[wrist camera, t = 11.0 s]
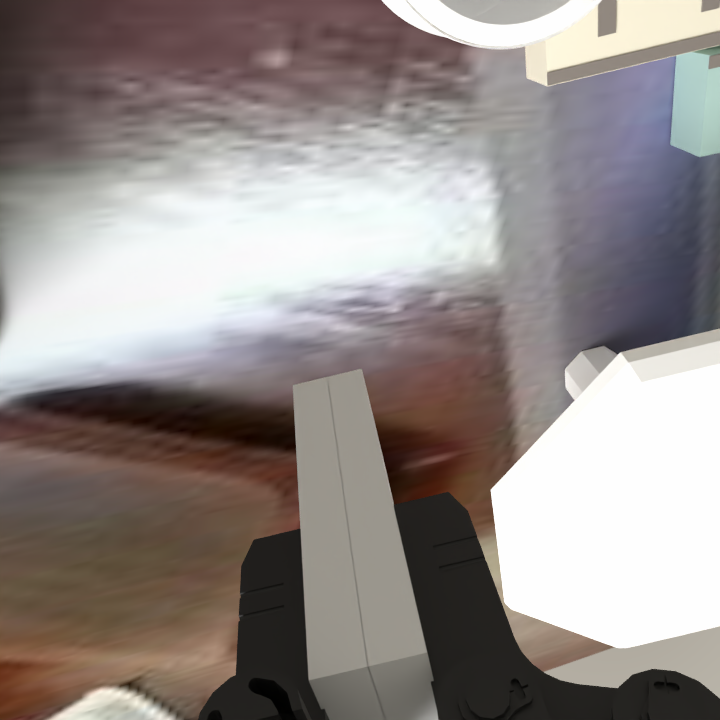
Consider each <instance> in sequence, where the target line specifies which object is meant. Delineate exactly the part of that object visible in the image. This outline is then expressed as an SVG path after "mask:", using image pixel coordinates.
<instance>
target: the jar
mask: <svg viewBox="0 0 720 720" xmlns="http://www.w3.org/2000/svg"><path fill="white" fill-rule="evenodd" d="M382 1H383V2H384V3H385V4H386V5H387V6H388V7H389V8H390V9H391V10H392V11H393V12H394V13H395V14H397V15H398V16H399V17H400V18H402V19H403V20H405V21H406V22H408V23H410V24H411V25H413V26H415V27H417V28H419V29H421V30H424V31H426V32H429V33H432V34H435V35H438V36H443V37H447V38H449V39H452V40H454V41H457V42H460V43H463V44H467V45H470V46H475V47H479V48H486V49H513V48H520V47H525V46H529V45H533V44H536V43H539V42H542V41H545V40H547V39H549V38H552V37H554V36H556V35H558V34H560V33H561V32H563V31H565V30H567V29H568V28H570V27H571V26H573V25H574V24H576V23H577V22H578V21H580V20H581V19H582V18H584V17H585V16H586V15H587V14H588V13H590V12H591V11H592V10H593V9H594V8H595V7H596V6H597V5H598V4H599V3H600V2H601V1H602V0H382Z"/></svg>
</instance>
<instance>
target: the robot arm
mask: <svg viewBox="0 0 720 720" xmlns="http://www.w3.org/2000/svg"><path fill="white" fill-rule="evenodd" d="M293 397H294V415H295V434H296V453H297V472H298V490H299V509H300V528H301V529H297V530H293V531H289V532H285V533H280V534H276V535H272V536H268V537H264V538H259V539H255V540H254V541H253V543H252V545H251V547H250V549H249V551H248V553H247V555H246V557H245V560H244V562H243V564H242V566H241V584H240V594H241V598H240V604H239V618H240V621H239V624H238V644H237V664H236V676H233V677H231V678H229V679H228V680H227V681H226V682H225V683H224V684H222V685H221V686H220V687H219V688H218V689H217V690H215V691H214V692H213V693H212V695H211V696H210V698H209V699H208V701H207V703H206V704H205V706H204V707H203V709H202V710H201V712H200V715H199V719H198V720H720V699H719V698H718V697H717V696H716V695H715V694H714V693H712V692H711V691H710V690H709V689H707V688H706V687H705V686H704V685H703V684H701V683H700V682H699V681H697V680H695V679H692V678H690V677H688V676H685V675H683V674H681V673H678V672H676V671H667V670H657V669H651V670H648V671H644V672H640V673H637V674H634V675H632V676H631V677H630V678H629V679H627V680H626V681H625V682H624V683H623V684H622V685H621V686H619V688H608V687H599V686H589V685H580V684H574V683H569V682H565V681H560V680H558V679H556V678H554V677H552V676H550V675H547V674H545V673H544V672H542V671H541V670H540V669H538V668H537V667H536V666H534V665H533V664H532V663H531V662H530V661H529V660H528V659H527V658H526V656H525V655H524V654H523V653H522V652H521V650H520V648H519V646H518V644H517V642H516V640H515V638H514V636H513V633H512V630H511V627H510V625H509V622H508V619H507V617H506V614H505V611H504V608H503V606H502V603H501V600H500V598H499V595H498V592H497V589H496V587H495V584H494V581H493V578H492V576H491V573H490V570H489V568H488V565H487V562H486V561H485V557H484V554H483V551H482V548H481V546H480V543H479V540H478V539H477V535H476V532H475V529H474V527H473V524H472V521H471V519H470V516H469V513H468V511H467V510H466V509H465V508H464V507H463V506H462V505H461V504H460V503H459V502H458V501H457V500H456V499H455V498H454V497H453V496H452V495H451V494H450V493H449V492H446V493H442V494H438V495H434V496H429V497H425V498H421V499H417V500H413V501H408V502H404V503H400V504H396V505H394V503H393V498H392V494H391V490H390V485H389V481H388V477H387V473H386V468H385V464H384V460H383V456H382V451H381V447H380V443H379V439H378V435H377V431H376V426H375V422H374V418H373V414H372V410H371V406H370V402H369V397H368V393H367V389H366V385H365V381H364V377H363V372H362V369H359V370H355V371H351V372H346V373H342V374H338V375H334V376H330V377H325V378H321V379H317V380H313V381H308V382H304V383H300V384H296V385H293Z"/></svg>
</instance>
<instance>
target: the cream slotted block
mask: <svg viewBox="0 0 720 720" xmlns="http://www.w3.org/2000/svg"><path fill="white" fill-rule="evenodd" d="M718 45H720V0H602V1H601V2H600V3H599V4H598V5H597V6H596V7H595V8H594V9H593V10H592V11H591V12H590V13H588V14H587V15H586V16H585V17H584V18H582V19H581V20H580V21H578V22H577V23H576V24H574V25H573V26H571V27H570V28H568V29H567V30H565V31H563V32H561V33H560V34H558V35H556V36H554V37H552V38H549V39H547V40H545V41H542V42H539V43H536V44H533V45H529V46H525V55H526V74H527V78H528V79H530V80H533V81H535V82H538V83H540V84H543V85H545V86H551V85H555V84H559V83H564V82H568V81H572V80H576V79H580V78H584V77H589V76H593V75H597V74H601V73H605V72H610V71H614V70H618V69H622V68H626V67H631V66H635V65H639V64H643V63H647V62H651V61H656V60H660V59H664V58H668V57H672V56H677V55H681V54H685V53H689V52H693V51H697V50H702V49H706V48H710V47H714V46H718Z"/></svg>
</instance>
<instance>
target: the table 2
mask: <svg viewBox="0 0 720 720" xmlns="http://www.w3.org/2000/svg"><path fill="white" fill-rule="evenodd" d="M565 385H566V389H567V390H568V392H569V393H570V395H571V396H572V397H573V399H574V400H575V401H574V402H573V403H572V404H571V405H570V406H569V407H568V408H567V409H566V411H565V412H564V413H563V414H562V415H561V416H560V417H559V418H558V419H557V420H556V421H555V422H554V423H553V424H552V425H551V426H550V428H549V429H548V430H547V431H546V432H545V433H544V434H543V435H542V436H541V437H540V438H539V439H538V440H537V441H536V442H535V443H534V445H533V446H532V447H531V448H530V449H529V450H528V451H527V452H526V453H525V454H524V455H523V456H522V457H521V458H520V459H519V460H518V462H517V463H516V464H515V465H514V466H513V467H512V468H511V469H510V470H509V471H508V472H507V473H506V474H505V475H504V476H503V477H502V479H501V480H500V481H499V482H498V483H497V484H496V485H495V486H494V487H493V488H492V489H491V495H492V504H493V512H494V520H495V528H496V536H497V545H498V553H499V561H500V569H501V577H502V585H503V594H504V602H505V604H506V605H507V606H509V607H510V608H511V609H512V610H515V611H517V612H520V613H523V614H526V615H528V616H531V617H534V618H537V619H539V620H542V621H545V622H548V623H550V624H553V625H556V626H559V627H561V628H564V629H567V630H570V631H572V632H575V633H578V634H581V635H583V636H586V637H589V638H592V639H594V640H597V641H600V642H603V643H605V644H608V645H611V646H614V647H616V648H629V647H633V646H637V645H642V644H646V643H651V642H655V641H659V640H663V639H668V638H672V637H676V636H680V635H684V634H689V633H693V632H697V631H701V630H705V629H710V628H714V627H718V626H720V329H716V330H712V331H707V332H703V333H699V334H695V335H691V336H686V337H682V338H678V339H674V340H670V341H665V342H661V343H657V344H653V345H649V346H644V347H640V348H636V349H632V350H628V351H623V352H620V353H619V354H616V353H615V352H613V351H611V350H610V349H608V348H607V347H605V346H602V347H597V348H593V349H589V350H585V351H581V352H580V353H579V354H578V355H577V356H576V357H575V359H574V360H573V361H572V362H571V363H570V364H569V365H568V366H567V367H566V368H565Z"/></svg>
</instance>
